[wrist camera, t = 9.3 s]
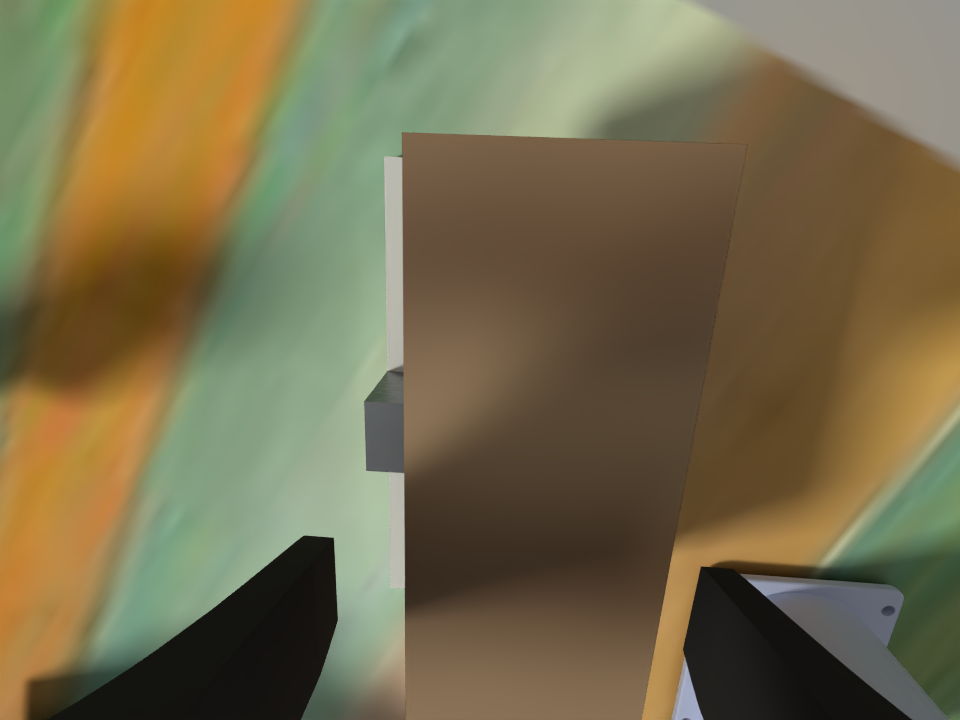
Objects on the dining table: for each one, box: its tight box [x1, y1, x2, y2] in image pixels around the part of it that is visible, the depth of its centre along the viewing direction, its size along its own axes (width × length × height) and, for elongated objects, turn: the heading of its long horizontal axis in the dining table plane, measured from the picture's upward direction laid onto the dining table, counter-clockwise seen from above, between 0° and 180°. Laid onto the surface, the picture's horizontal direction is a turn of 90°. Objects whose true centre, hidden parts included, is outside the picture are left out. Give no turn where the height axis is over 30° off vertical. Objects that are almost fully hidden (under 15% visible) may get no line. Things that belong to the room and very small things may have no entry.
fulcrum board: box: [364, 157, 405, 589], centre depth 17 cm, size 17×10×4 cm, turn 178°
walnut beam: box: [402, 132, 747, 720], centre depth 12 cm, size 16×5×6 cm, turn 178°
